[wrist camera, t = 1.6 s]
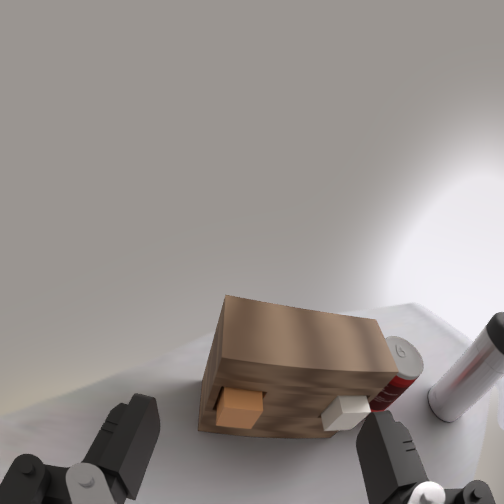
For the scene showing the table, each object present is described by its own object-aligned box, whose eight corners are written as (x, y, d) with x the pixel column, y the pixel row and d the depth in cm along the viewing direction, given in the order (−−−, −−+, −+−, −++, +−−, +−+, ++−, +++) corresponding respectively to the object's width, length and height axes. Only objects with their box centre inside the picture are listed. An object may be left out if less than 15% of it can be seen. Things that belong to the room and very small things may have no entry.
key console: (321, 392, 40) (375, 319, 32) (330, 437, 33) (398, 371, 25) (202, 380, 37) (225, 294, 29) (197, 430, 30) (221, 357, 22)
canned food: (372, 376, 45) (406, 333, 39) (391, 411, 38) (432, 371, 33) (338, 382, 42) (372, 337, 37) (357, 422, 36) (399, 381, 30)
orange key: (249, 390, 30) (260, 369, 28) (250, 428, 26) (263, 411, 24) (217, 386, 30) (225, 364, 27) (215, 425, 25) (224, 407, 23)
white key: (342, 396, 32) (360, 376, 30) (350, 429, 28) (371, 411, 26) (317, 395, 32) (333, 375, 29) (323, 430, 27) (342, 413, 25)
